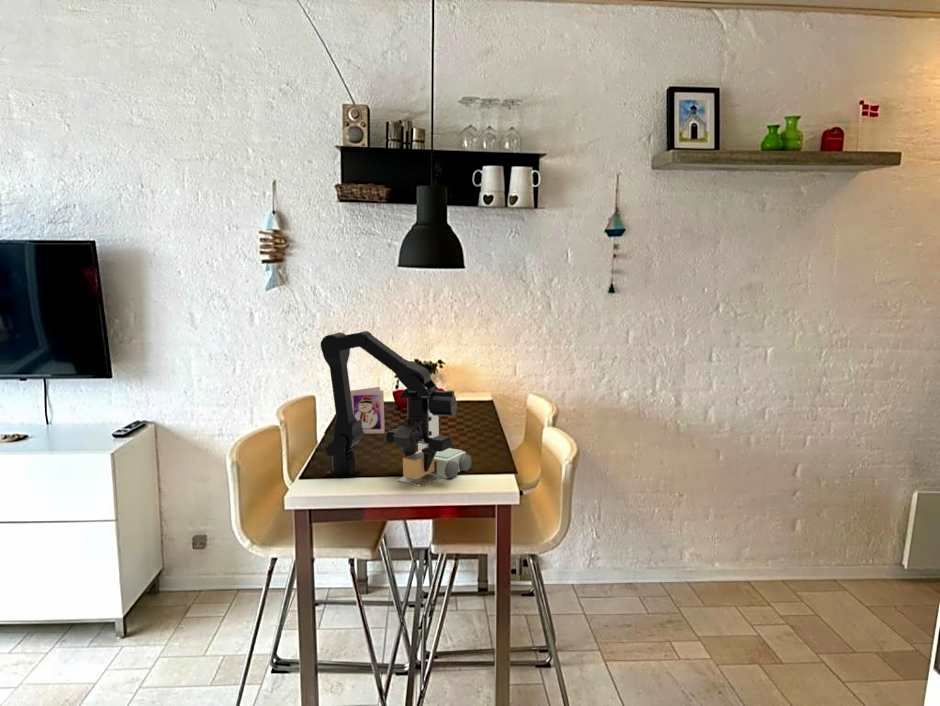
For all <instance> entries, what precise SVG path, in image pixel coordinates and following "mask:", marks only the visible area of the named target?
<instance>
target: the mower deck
mask: <svg viewBox="0 0 940 706" xmlns="http://www.w3.org/2000/svg"><path fill="white" fill-rule="evenodd" d="M423 449H424V448H423ZM417 452H420V451H418V450H417V451H415V453H417ZM471 467H472V457H471V455H469V454H467V452H466V451H464V450H462V449H457V448H453V447H451V448H448V449H446V450H444V451H441V452H438V451H437V452H436V454H435V456H434V471H433V472H431V473H429V474H432V475H437V476H442V478H441V479H445V478H446V479H455V478H456V477H457V476H458V472H459V473H460V471H461V472H468V471H469V470H470V468H471Z"/></svg>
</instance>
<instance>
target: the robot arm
mask: <svg viewBox="0 0 940 706" xmlns="http://www.w3.org/2000/svg"><path fill="white" fill-rule="evenodd" d="M355 348H360V349H362V350H364V351H365V352H366V353H368V354H369V355H371V356H372V357H373V358H374V359H376V360H377V361H378V362H380V363H381V364H382V365H384V366H385V367H386V368H387V369H389V370H390V371H392V372H393V373H394V374H395V375H396V377H397V379H398V381H400V382H401V384H403V386H404V387H405V389H404V391H403V392H402V393H401V394H400V395H399V399H400V398H401V399H406V404H407V405H406V406H407V407H406V409H407V411H406V413H407V414H406V415H407V418H404V420H403V426H402V427H400V428H399V427H397V428H394V429H391V430H389V431H387V432H386V434H385V443H390V444H395V446H396V447H397V448H399V449H400V450H402V453H403V454H404V456H405V457H407V456H410V455H412V454H415V453H416V449H417V448H416V447H417V445H418V443H422V444H426V448H424V449H422V450H421V451H422V452H423V454H424V470H425V472H427V471H428V470H429V467H430V465H431V463H432V460H433V458H434V456H435V454H436V452H437V451H438V452H441V451H444V450H446V449H448V448H453V438H451V436H446V435H441V434H439V435H438V436H436V437H434V438H430V437H429V436H430V435H432V431H429V421H431V420H432V418H431V417H430V416H429V411H430V413H432V414H433V415H436V416H440V417H455V416H456V414H457V409H458V401H457V397H456V395H455V390H439V388H438V386H437V385H436V383H435V382H434V381H433V379H432V378H431V377H432V376H431V371H430V370H429V369H427V367H424V366H422V365H420V364H418V363H416V362H412V361H411V360H407V359H405V358H404V357H403V356H401V355H399V354H398V353H397V352H396V351H395V350H393V349H392V348H390V347H389V346H388V345H386V344H385V343H383V342H382V341H381V340H379V339H378V338H377V337H375V336H374V335H373V334H372V333H371V332H370V331H368V330H364V331H360V332H355V333H350V334H345V333H343V332H336V333H332V334H331V333H330V334H327V335H325V336H324V337H323V338H322V340H321V341H320V350H321V353H322V356H323V358H324V361H325V362H326V364H327V365H328V367H329V370H330V372H329V373H330V378H331V379H330V380H331V385H332V386H331V387H332V396H333V401H334V408H335V422H334V427H333V432H332V433H333V435H332V436H333V438H332V441H331V442H330V443H329V444H328V445H327V446H326V447H325V449H324V450H325V452H326V454H327V456H328V457H329V466H330V468H329V469H330V470H328V471H326V475H328V476H329V475H330V476H334V477H338V478H346V477H348V476H351V475H353V474H355V473H358V472H359V469H356V459H355V453H354V452H355V451H352V450H354V449H356V448H357V445H358V444H359V442H360V441H361V440H362V438H363V434H365V433H364V432H363V430H362V420H361V419H360V420H357V419H356V418H355V416H354V414H353V408H352V400H351V392H350V391H351V387H350V386H351V385H350V378H349V371H348V370H349V369H348V361H349V357H350V354H351V349H355ZM425 387H426V388H427V389H426V388H425ZM428 399H429V402H428ZM405 457H404V458H405Z"/></svg>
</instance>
